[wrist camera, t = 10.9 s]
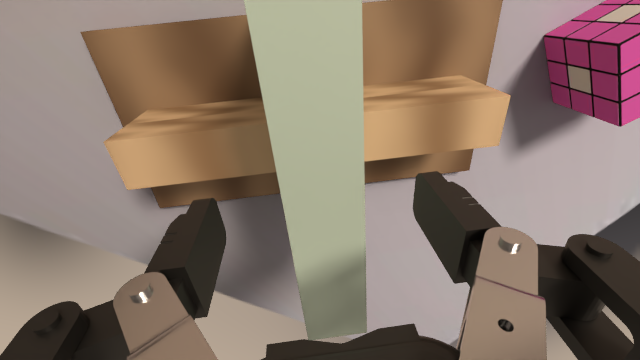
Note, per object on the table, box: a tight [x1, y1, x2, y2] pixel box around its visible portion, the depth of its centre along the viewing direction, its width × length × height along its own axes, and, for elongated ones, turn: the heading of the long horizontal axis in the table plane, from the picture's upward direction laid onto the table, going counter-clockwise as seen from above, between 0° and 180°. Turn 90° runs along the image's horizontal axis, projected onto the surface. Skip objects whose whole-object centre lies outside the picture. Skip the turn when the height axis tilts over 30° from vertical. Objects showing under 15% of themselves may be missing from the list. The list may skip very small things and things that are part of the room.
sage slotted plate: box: [244, 0, 367, 340], centre depth 16 cm, size 16×3×12 cm, turn 5°
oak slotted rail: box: [81, 0, 511, 208], centre depth 19 cm, size 26×13×6 cm, turn 95°
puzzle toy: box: [544, 0, 640, 126], centre depth 19 cm, size 6×6×6 cm
